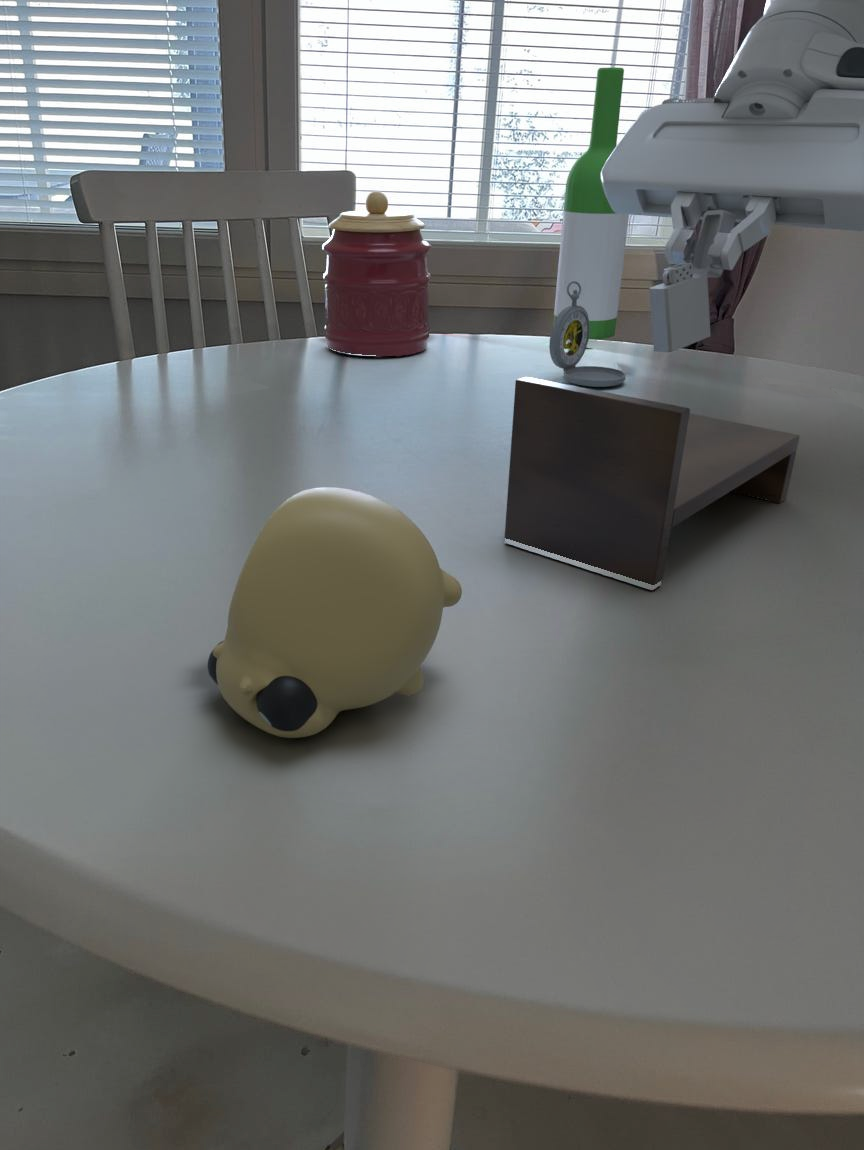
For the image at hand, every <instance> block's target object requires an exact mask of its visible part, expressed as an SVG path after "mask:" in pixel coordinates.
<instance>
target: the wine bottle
mask: <svg viewBox="0 0 864 1150" xmlns="http://www.w3.org/2000/svg"><path fill="white" fill-rule="evenodd" d="M596 72H597V73H596V82H595V90H594V91H595V92H594V102H593V110H592V121H591V130H590V139H589V146H588V148H587V150H586V151H585V152H584V153H583V154H581V155H580V156H579V157H578V159H576V161H575V162H574V163H573V165H572V167H571V168H570V170H569V173H568V175H567V178H566V181H565V182H566V183H565V189H564V190H565V191H564V203H563V214H562V224H561V232H560V244H559V254H558V255H559V256H558V267H557V276H556V278H557V279H556V287H555V288H556V289H555V298H554V309H553V310H554V312H553V323H552V326H553V325H554V322H555V320H556V318H557V317H558V315H559V314H560V312H561V311H562V310H563V309H565V308H566V307H568V306H572V300H571V297H570V296H569V295H568V293H567V286H568V284H569V283H570V282H572V281H575V282H578V283H579V284H580V286H581V293H580V295H579V298H578V299H577V305H578V306H581V307H583V308H584V309H585V311H586V312H587V314H588V318H589V325H590V334H589V340H603V339H609V338H613V337H614V336H615V334H616V328H617V327H616V326H617V319H618V313H619V302H620V294H621V286H622V278H623V269H624V261H625V260H624V259H625V252H626V243H627V235H628V226H629V220H630V219H629V218H630V214H618V213H615V212H614V211H613V210H612V208H611V206H610V204H609V202H608V200H607V198H606V195H605V193H604V190H603V186H602V182H601V171H602V168H603V167H604V165H605V163H606V161H607V160H608V158H609V157H610V155H611V153H612V152H613V150H614V149H615V147H616V146H617V145H618V143H617V142H618V132H619V123H620V114H621V103H622V96H623V95H622V93H623V83H624V75H625V69H624V68H623V67H599V68H598V69H597V71H596ZM574 290H577V291H578V292H579V287H578V285H577V284H575V283H573V284H571V285H570V287H569V292H570V294H571V295H572V294H573V293H574V292H573V291H574ZM578 292H577V293H578ZM574 331H575V328H574ZM570 337H571V336H570ZM563 345H564V346H565V344H563ZM569 346H570V345H569ZM586 350H593V348H592V347H586Z"/></svg>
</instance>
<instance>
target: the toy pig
mask: <svg viewBox="0 0 864 1150" xmlns="http://www.w3.org/2000/svg"><path fill="white" fill-rule="evenodd" d="M462 595H463V589H462V586H461V583H460V582H459V581H458V580H457V578H456V577H454V576H453V575H452V574H450V573H448V572H446V571H445V570H443V569H442V568H441V566H440V563H439V560H438V557H437V555H436V552H435V549H434V548H433V546H432V545H431V543H430V541H429V540H428V538H427V537H426V535H425V534H424V532H423V531H422V529H420V528H419V526H418V525H417V524H416V523H415V522H414V521H413V520H412V519H411V518H410V517H409V516H407V514H405V513H404V512H402V511H401V510H399V509H398V508H397V507H395V506H393V505H392V504H390V503H388V502H387V501H384V500H382V499H380V498H378V497H376V496H374V495H372V494H368V493H365V492H362V491H358V490H356V489H355V490H354V489H349V488H344V487H331V486H330V487H329V486H324V487H314V488H313V487H312V488H308V489H304V490H302V491H300V492H297V493H295V494H293V495H292V496H290V497H289V498H287V499H286V500H284V502H282V503H281V504H280V505H279V506H278V507H277V508H276V509H275V510H274V511H273V513H271V515H270V516H269V518H268V519H267V521H266V522H265V523H264V525H263V526H262V528H261V530H260V531H259V533H258V535H257V536H256V539H255V540H254V543H253V544H252V546H251V549H250V550H249V553H248V554H247V557H246V559H245V562H244V564H243V566H242V569H241V571H240V574H239V576H238V578H237V581H236V584H235V586H234V590H233V594H232V596H231V601H230V605H229V610H228V615H227V627H226V632H225V635H224V640H222V641H220V642H219V643H217V644H216V645H215V646H214V647H213V649H212V650H211V652H210V653H209V656H208V660H207V672H208V675H209V677H210V679H211V680H212V682H213V683H214V684H215V685H216V686H218V689H219V692H220V694H221V697H222V698H223V699H224V701H225V702H227V705H228V706H229V707H230V708H232V710H234V711H235V713H236V714H238V715H240V717H242V719H244V720H245V721H247V722H248V723H249V724H252V725H253V726H255V727H256V728H258V729H260V730H261V731H264V732H266V733H268V734H270V735H273V736H276V737H280V738H285V739H287V738H288V739H298V738H306V737H311V736H313V735H316V734H318V733H320V732H322V731H323V730H325V729H326V728H328V727H329V725H331V723H333V721H334V720H335V719H336V717H337V715H338V714H339V713H340V712H342V711H347V710H355V709H361V708H365V707H369V706H372V705H375V704H377V703H379V702H382V701H384V700H385V699H388V698H389V697H391V696H392V695H394V694H395V693H398V694H399V695H400V694H401V695H403V696H407V697H409V696H414V695H417V694H418V693H420V692H421V690H422V689H423V687H424V684H425V677H424V673H423V670H422V669H421V666H422V664H423V663H424V661H425V660H426V658H427V657H428V655H429V653H430V651H431V650H432V648H433V646H434V644H435V641H436V639H437V636H438V633H439V630H440V626H441V622H442V619H443V618H442V617H443V612H444V608H449V607H454V606H455V605H457V604H458V603H459V602H460V600H461V598H462Z"/></svg>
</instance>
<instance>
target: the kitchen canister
mask: <svg viewBox="0 0 864 1150" xmlns="http://www.w3.org/2000/svg"><path fill="white" fill-rule="evenodd" d="M388 207H389V200H388V198H387V195H386V194H385V193H384V192H382V191H380V190H379V191H377V190H375V191H371V192H369V194H368V195H367V197H366V199H365V210H349V211H344V212H341V213H340V214H339V216H338V217H336V218H335V219H334V220H332V221H330V222H329V223H328V228H329V229H331V230H332V235H331V237H329V239H328V240H327V241H325V242H324V243H323V244H322V246H321V247H322V248H321V249H322V250H323V252H324V253H325V254H326V257H327V258H326V270H325V272H324V273H323V276H322V278H323V280H324V300H325V304H324V305H325V308H324V309H325V325H324V332H325V333H324V339H325V341H326V347H327V346H328V347H329V348H331V349H333V350H336V351H340V352H345V353H351V354H362V355H376V356H396V357H403V355H404V356H410V355H415V354H417V353H421V352H423V351H425V350H426V349H427V347H428V341H429V338H430V326H429V307H430V306H429V301H430V300H429V299H430V280H431V277H432V276H431V273H430V272H428V263H427V260H428V259H427V255H428V254H429V252H430V251H431V250H432V245H431V243H430V242H428V241H427V240H426V239H424V237H423V235H422V232H421V230H424V228H425V227H426V223H424V222H423V221H421V220H420V219H418V218H417V217H416V216H415V215H414V213H413V212H410V211H402V210H388ZM328 347H327V348H328ZM329 348H328V349H329Z"/></svg>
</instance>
